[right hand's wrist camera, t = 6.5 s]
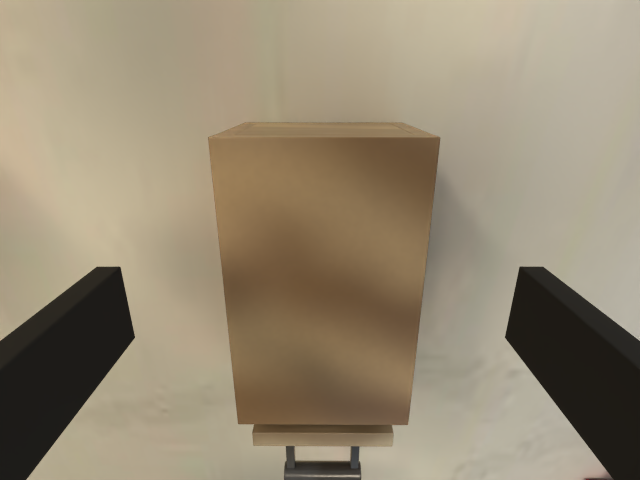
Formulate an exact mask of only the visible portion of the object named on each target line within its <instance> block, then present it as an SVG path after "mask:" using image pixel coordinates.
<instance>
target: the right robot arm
mask: <svg viewBox="0 0 640 480" xmlns="http://www.w3.org/2000/svg"><path fill="white" fill-rule="evenodd" d="M134 338H135V336H134V331H133V326H132V321H131V316H130V311H129V306H128V302H127V297H126V292H125V287H124V282H123V277H122V273H121V268H120V267H96V268H95V269H94V270H92V271H91V272H90V273H88V274H87V275H86V276H84V277H83V278H82V279H80V280H79V281H78V282H77V283H75V284H74V285H73V286H71V287H70V288H69V289H67V290H66V291H65V292H64V293H62V294H61V295H60V296H58V297H57V298H56V299H54V300H53V301H52V302H51V303H49V304H48V305H47V306H45V307H44V308H43V309H41V310H40V311H39V312H38V313H36V314H35V315H34V316H32V317H31V318H30V319H28V320H27V321H26V322H24V323H23V324H22V325H21V326H19V327H18V328H17V329H15V330H14V331H13V332H11V333H10V334H9V335H8V336H6V337H5V338H4V339H2V340H1V341H0V480H26V479H27V478H28V477H29V475H30V474H31V473H32V471H33V470H34V469H35V467H36V466H37V465H38V464H39V462H40V461H41V460H42V458H43V457H44V456H45V454H46V453H47V452H48V450H49V449H50V448H51V447H52V445H53V444H54V443H55V441H56V440H57V439H58V437H59V436H60V435H61V433H62V432H63V431H64V430H65V428H66V427H67V426H68V424H69V423H70V422H71V420H72V419H73V418H74V416H75V415H76V414H77V413H78V411H79V410H80V409H81V407H82V406H83V405H84V403H85V402H86V401H87V399H88V398H89V397H90V396H91V394H92V393H93V392H94V390H95V389H96V388H97V386H98V385H99V384H100V382H101V381H102V380H103V379H104V377H105V376H106V375H107V373H108V372H109V371H110V369H111V368H112V367H113V366H114V364H115V363H116V362H117V360H118V359H119V358H120V356H121V355H122V354H123V352H124V351H125V350H126V349H127V347H128V346H129V345H130V343H131V342H132V341H133V339H134ZM505 338H506V339H507V341H508V342H509V343H510V345H511V346H512V347H513V349H514V350H515V351H516V352H517V354H518V355H519V356H520V358H521V359H522V360H523V362H524V363H525V364H526V366H527V367H528V368H529V369H530V371H531V372H532V373H533V375H534V376H535V377H536V379H537V380H538V381H539V382H540V384H541V385H542V386H543V388H544V389H545V390H546V392H547V393H548V394H549V396H550V397H551V398H552V399H553V401H554V402H555V403H556V405H557V406H558V407H559V409H560V410H561V411H562V413H563V414H564V415H565V416H566V418H567V419H568V420H569V422H570V423H571V424H572V426H573V427H574V428H575V430H576V431H577V432H578V433H579V435H580V436H581V437H582V439H583V440H584V441H585V443H586V444H587V445H588V447H589V448H590V449H591V450H592V452H593V453H594V454H595V456H596V457H597V458H598V460H599V461H600V462H601V464H602V465H603V466H604V467H605V469H606V470H607V471H608V473H609V474H610V475H611V477H612V478H613V479H614V480H640V341H639V340H638V339H636V338H635V337H634V336H632V335H631V334H630V333H629V332H627V331H626V330H625V329H623V328H622V327H621V326H619V325H618V324H617V323H615V322H614V321H613V320H612V319H610V318H609V317H608V316H606V315H605V314H604V313H602V312H601V311H600V310H599V309H597V308H596V307H595V306H593V305H592V304H591V303H589V302H588V301H587V300H586V299H584V298H583V297H582V296H580V295H579V294H578V293H576V292H575V291H574V290H573V289H571V288H570V287H569V286H567V285H566V284H565V283H563V282H562V281H561V280H560V279H558V278H557V277H556V276H554V275H553V274H552V273H550V272H549V271H548V270H546V269H545V268H544V267H520V268H519V273H518V277H517V282H516V287H515V292H514V297H513V302H512V306H511V311H510V316H509V321H508V326H507V331H506V336H505Z"/></svg>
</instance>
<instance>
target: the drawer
mask: <svg viewBox="0 0 640 480" xmlns="http://www.w3.org/2000/svg"><path fill="white" fill-rule="evenodd" d="M252 434H253V445H254V446H286V457H287V461H286V462H285V468H284V480H361V465H360V461H359V446H392V444H393V429H392V425H315V424H254V427H253V432H252ZM295 446H351V450H350V461H295Z"/></svg>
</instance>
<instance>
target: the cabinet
mask: <svg viewBox="0 0 640 480" xmlns="http://www.w3.org/2000/svg"><path fill="white" fill-rule="evenodd" d="M208 141H209V150H210V160H211V169H212V179H213V188H214V198H215V208H216V217H217V227H218V236H219V246H220V255H221V265H222V274H223V284H224V294H225V303H226V313H227V322H228V332H229V341H230V351H231V360H232V370H233V379H234V389H235V399H236V408H237V418H238V424H315V425H408V420H409V411H410V402H411V393H412V385H413V376H414V367H415V358H416V349H417V340H418V331H419V322H420V314H421V305H422V296H423V287H424V278H425V269H426V260H427V251H428V243H429V234H430V225H431V216H432V207H433V198H434V189H435V180H436V172H437V163H438V154H439V145H440V137H438V136H435V135H432V134H429V133H427V132H424V131H422V130H419V129H417V128H414V127H412V126H409V125H407V124H404V123H243V124H241V125H238V126H236V127H233V128H231V129H228V130H226V131H224V132H221V133H219V134H216V135H213V136H210V137H208Z"/></svg>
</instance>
